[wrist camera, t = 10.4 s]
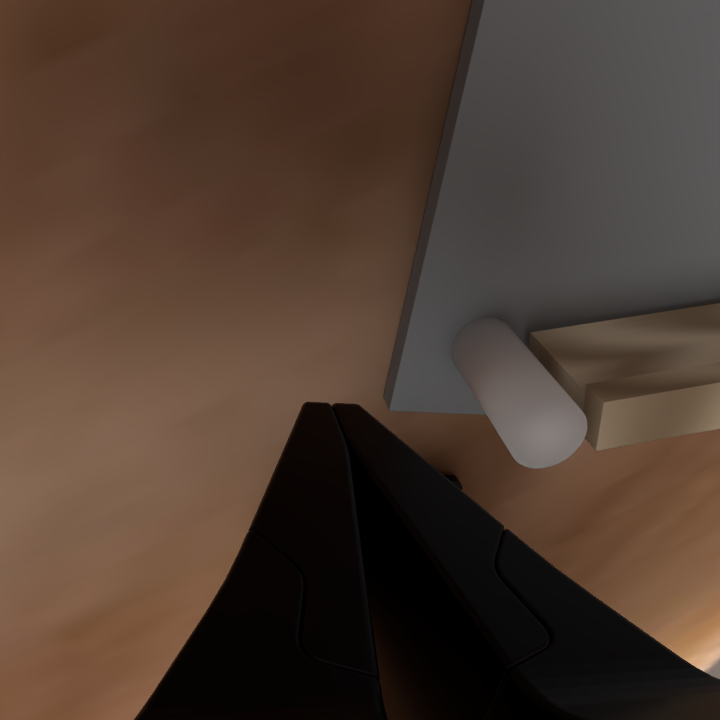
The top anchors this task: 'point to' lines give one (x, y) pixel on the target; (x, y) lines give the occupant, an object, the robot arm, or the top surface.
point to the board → (560, 203)
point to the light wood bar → (639, 373)
